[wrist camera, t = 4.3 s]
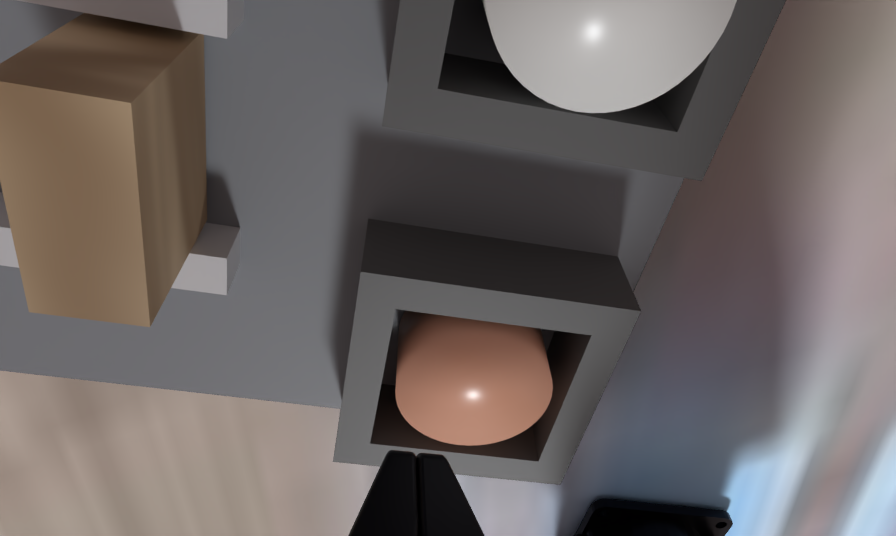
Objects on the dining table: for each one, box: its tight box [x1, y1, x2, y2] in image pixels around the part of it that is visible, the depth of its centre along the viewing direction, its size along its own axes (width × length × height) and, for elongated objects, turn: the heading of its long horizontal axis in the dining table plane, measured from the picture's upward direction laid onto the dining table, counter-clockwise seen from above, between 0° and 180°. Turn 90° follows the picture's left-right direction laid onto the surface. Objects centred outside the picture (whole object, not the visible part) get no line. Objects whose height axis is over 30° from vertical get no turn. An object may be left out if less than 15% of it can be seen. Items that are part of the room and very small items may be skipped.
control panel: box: [0, 0, 786, 485], centre depth 16 cm, size 21×20×4 cm
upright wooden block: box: [0, 13, 207, 327], centre depth 14 cm, size 2×5×4 cm, turn 169°
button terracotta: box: [395, 310, 553, 446], centre depth 19 cm, size 4×4×2 cm
